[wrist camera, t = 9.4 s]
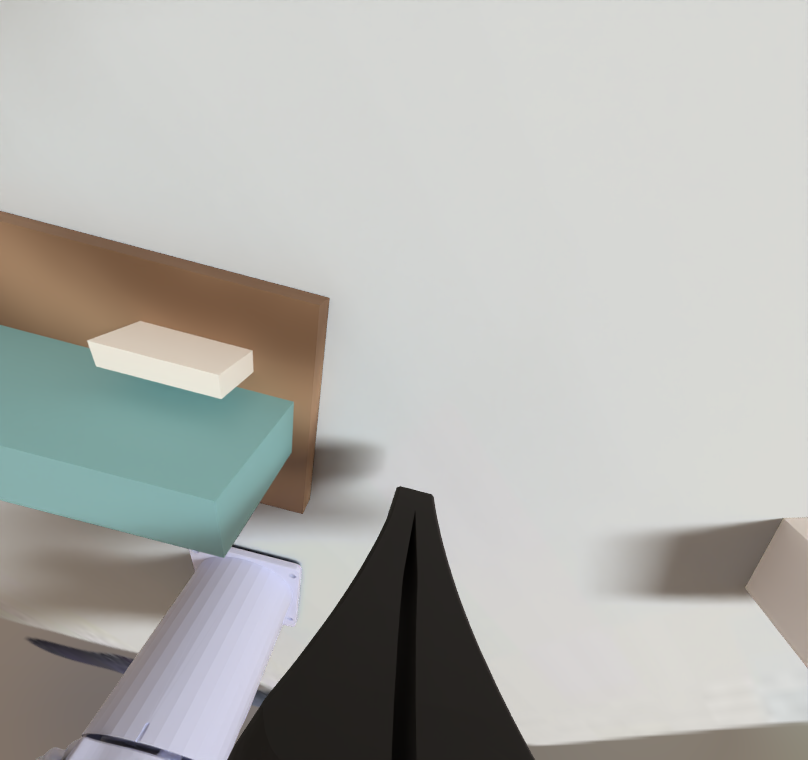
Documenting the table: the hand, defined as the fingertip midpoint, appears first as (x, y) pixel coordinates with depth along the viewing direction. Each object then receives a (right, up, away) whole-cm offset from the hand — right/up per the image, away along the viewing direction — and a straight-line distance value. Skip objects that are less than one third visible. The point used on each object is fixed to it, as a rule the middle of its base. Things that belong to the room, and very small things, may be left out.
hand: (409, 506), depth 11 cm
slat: (-13, +5, +2) cm, 14 cm away
